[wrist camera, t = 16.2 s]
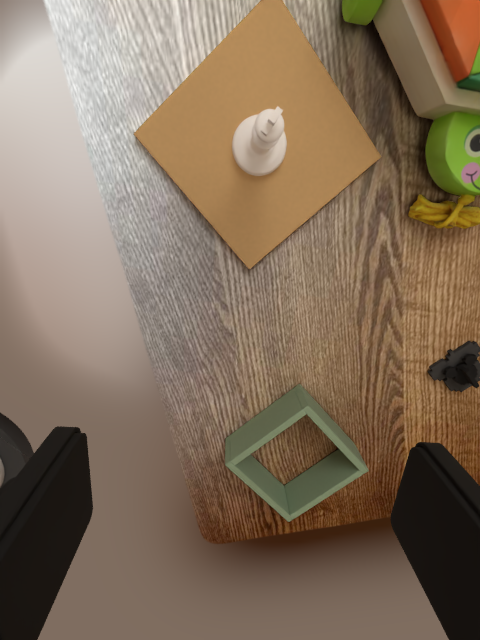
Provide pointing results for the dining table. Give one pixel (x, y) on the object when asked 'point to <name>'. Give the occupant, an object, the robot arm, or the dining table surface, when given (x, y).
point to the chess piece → (260, 142)
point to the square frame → (311, 482)
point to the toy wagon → (437, 91)
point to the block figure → (458, 367)
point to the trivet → (247, 100)
